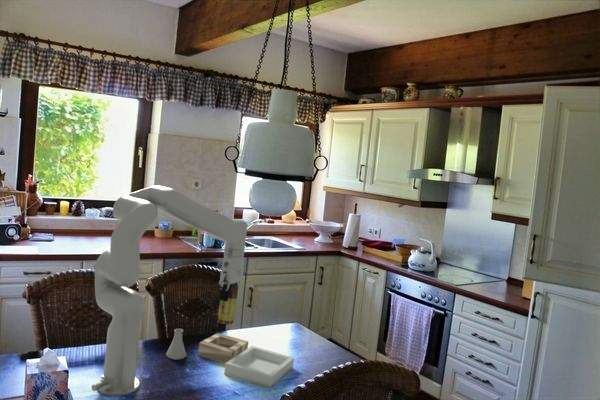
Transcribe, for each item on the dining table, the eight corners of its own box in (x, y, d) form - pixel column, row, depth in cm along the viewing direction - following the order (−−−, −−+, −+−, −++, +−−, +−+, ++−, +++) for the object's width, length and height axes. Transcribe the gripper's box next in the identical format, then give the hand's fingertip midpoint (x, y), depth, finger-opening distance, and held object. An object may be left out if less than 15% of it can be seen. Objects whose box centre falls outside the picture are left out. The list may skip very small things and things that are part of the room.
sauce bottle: (216, 319, 193) (222, 269, 191) (232, 320, 194) (238, 270, 193) (218, 325, 186) (225, 273, 185) (235, 325, 188) (241, 274, 187)
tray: (269, 388, 169) (271, 377, 168) (224, 374, 176) (225, 363, 175) (292, 368, 187) (294, 357, 187) (250, 355, 194) (252, 345, 194)
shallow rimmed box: (230, 365, 183) (231, 352, 183) (198, 355, 188) (199, 342, 188) (247, 353, 195) (248, 341, 195) (216, 344, 200) (217, 332, 200)
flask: (174, 361, 181) (177, 335, 180) (162, 355, 185) (164, 329, 184) (190, 357, 186) (192, 331, 185) (177, 350, 191) (180, 325, 190)
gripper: (231, 257, 179) (225, 305, 180) (253, 251, 195) (247, 296, 196) (213, 253, 182) (207, 301, 183) (236, 247, 198) (231, 292, 199)
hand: (228, 298), depth 190 cm, fingers closed on sauce bottle, 6 cm apart
